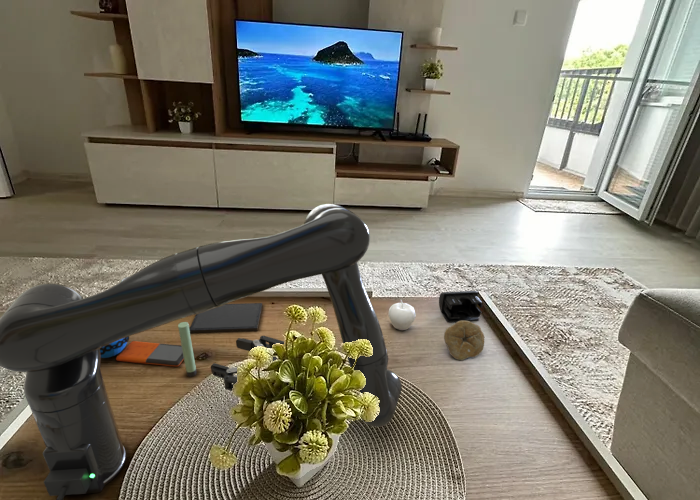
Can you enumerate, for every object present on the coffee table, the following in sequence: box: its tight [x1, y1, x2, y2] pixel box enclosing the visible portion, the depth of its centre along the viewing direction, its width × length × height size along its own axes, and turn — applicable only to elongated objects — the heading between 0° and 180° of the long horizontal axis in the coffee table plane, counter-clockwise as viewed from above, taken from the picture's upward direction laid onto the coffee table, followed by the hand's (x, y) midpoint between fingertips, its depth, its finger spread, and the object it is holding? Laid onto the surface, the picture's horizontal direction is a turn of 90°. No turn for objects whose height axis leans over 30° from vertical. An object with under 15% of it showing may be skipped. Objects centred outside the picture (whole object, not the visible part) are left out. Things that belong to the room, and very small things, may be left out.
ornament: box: [100, 336, 130, 359], centre depth 90 cm, size 9×9×10 cm
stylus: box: [177, 321, 197, 378], centre depth 84 cm, size 2×2×13 cm
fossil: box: [443, 321, 486, 361], centre depth 97 cm, size 9×4×10 cm
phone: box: [115, 340, 184, 368], centre depth 92 cm, size 6×1×15 cm
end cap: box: [438, 290, 483, 324], centre depth 110 cm, size 10×7×7 cm
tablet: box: [189, 302, 263, 334], centre depth 106 cm, size 12×17×1 cm
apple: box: [388, 299, 417, 331], centre depth 104 cm, size 7×7×8 cm
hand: (225, 354), depth 81 cm, fingers open, 8 cm apart
